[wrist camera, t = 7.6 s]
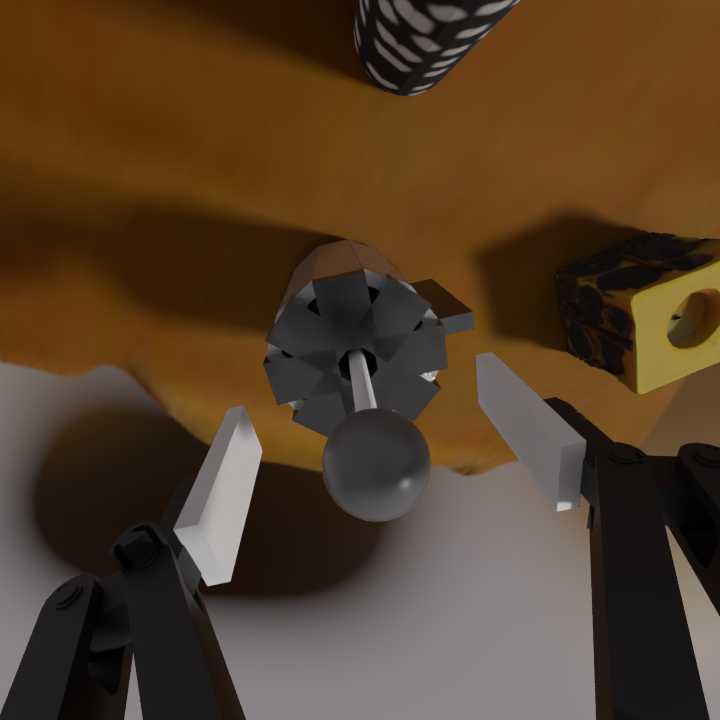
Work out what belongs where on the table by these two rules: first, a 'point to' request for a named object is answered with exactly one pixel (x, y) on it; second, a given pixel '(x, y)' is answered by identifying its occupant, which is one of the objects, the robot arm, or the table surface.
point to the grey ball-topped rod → (374, 454)
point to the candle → (645, 309)
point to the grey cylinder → (358, 335)
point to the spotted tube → (420, 38)
